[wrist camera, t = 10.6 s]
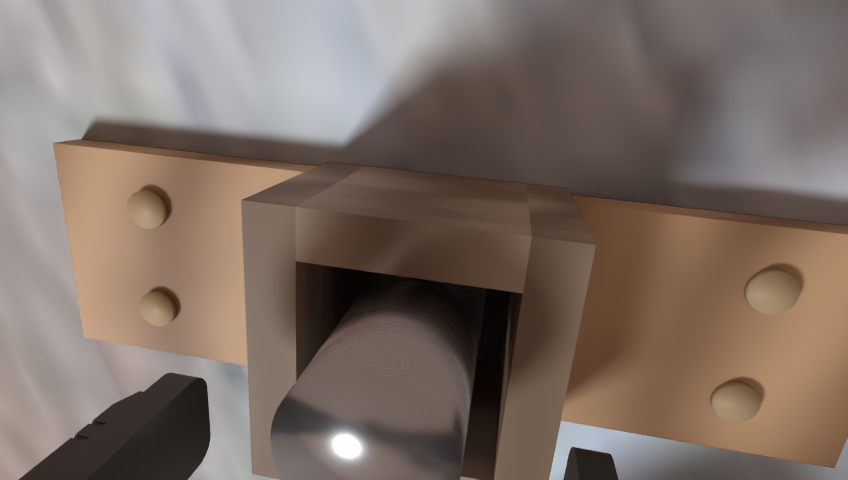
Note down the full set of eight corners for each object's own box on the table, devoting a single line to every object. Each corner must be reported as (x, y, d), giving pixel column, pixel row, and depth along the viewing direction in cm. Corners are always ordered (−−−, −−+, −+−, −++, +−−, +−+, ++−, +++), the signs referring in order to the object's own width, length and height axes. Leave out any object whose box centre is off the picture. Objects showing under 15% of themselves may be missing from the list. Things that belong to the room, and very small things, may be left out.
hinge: (902, 225, 15) (1131, 311, 10) (812, 448, 18) (949, 617, 12) (79, 134, 19) (-103, 157, 13) (107, 327, 22) (-36, 414, 16)
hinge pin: (492, 241, 18) (471, 390, 9) (479, 341, 19) (451, 552, 10) (383, 227, 18) (268, 356, 10) (377, 325, 19) (272, 512, 11)
